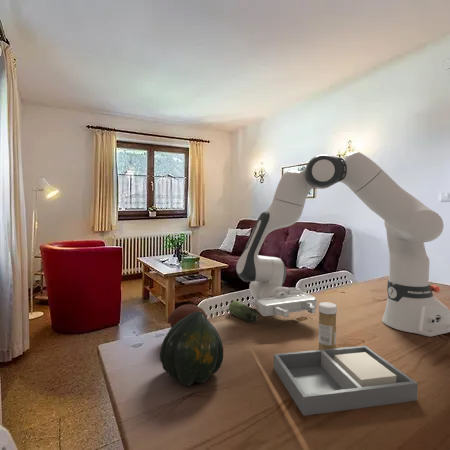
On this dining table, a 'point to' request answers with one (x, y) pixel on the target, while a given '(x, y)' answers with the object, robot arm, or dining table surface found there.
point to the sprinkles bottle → (327, 325)
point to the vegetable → (243, 311)
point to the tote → (337, 382)
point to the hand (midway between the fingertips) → (300, 312)
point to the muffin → (183, 313)
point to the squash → (192, 350)
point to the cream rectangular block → (365, 369)
